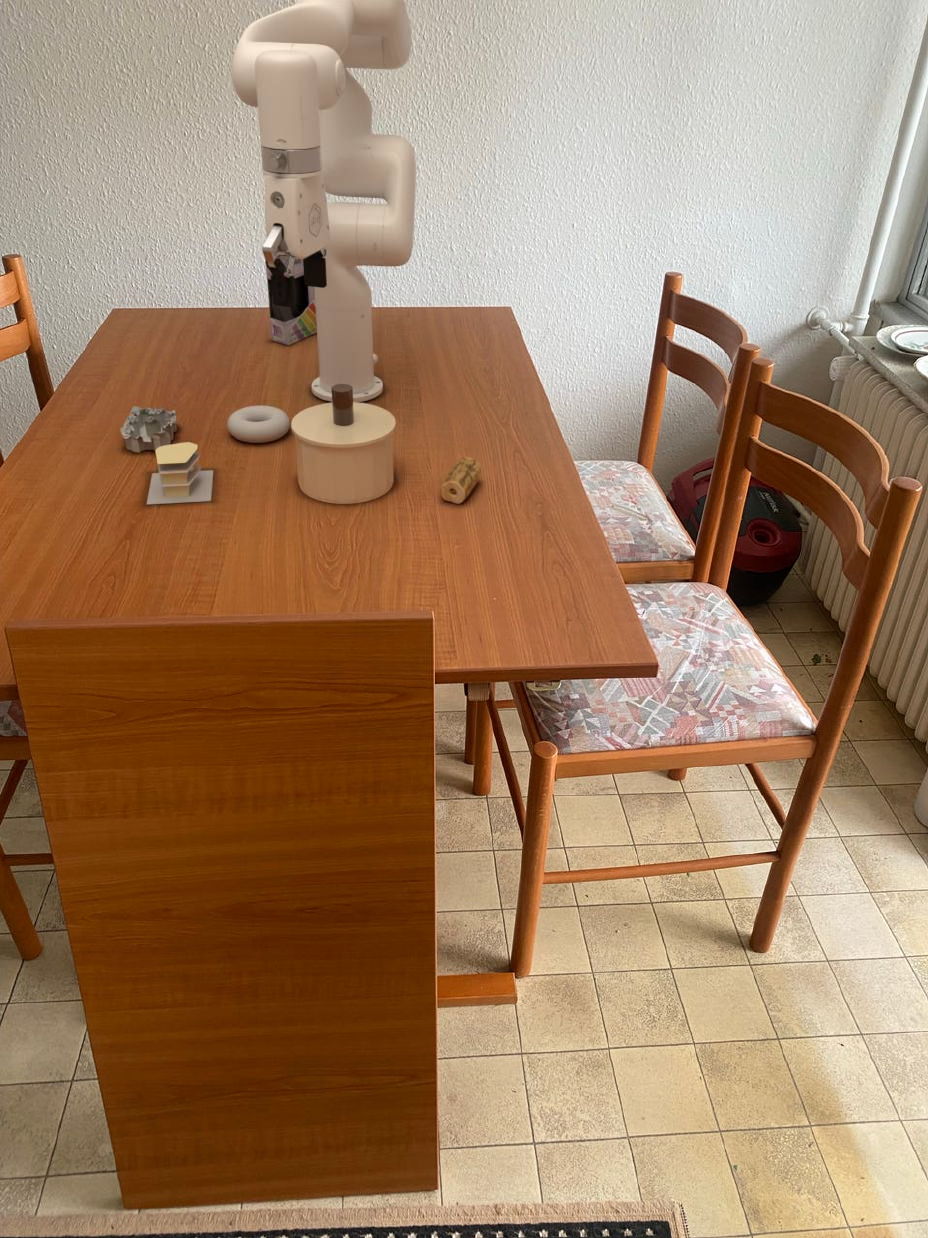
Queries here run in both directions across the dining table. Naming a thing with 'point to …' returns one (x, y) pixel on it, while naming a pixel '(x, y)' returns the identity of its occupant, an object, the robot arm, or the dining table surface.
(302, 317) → the cake pan box
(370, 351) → the robot arm
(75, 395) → the dining table surface
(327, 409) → the lid
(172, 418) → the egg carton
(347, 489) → the crock
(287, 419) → the donut
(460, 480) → the tan cylinder with hole
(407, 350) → the dining table surface
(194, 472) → the stacked layers on plate
